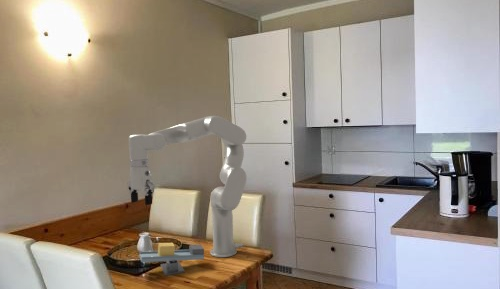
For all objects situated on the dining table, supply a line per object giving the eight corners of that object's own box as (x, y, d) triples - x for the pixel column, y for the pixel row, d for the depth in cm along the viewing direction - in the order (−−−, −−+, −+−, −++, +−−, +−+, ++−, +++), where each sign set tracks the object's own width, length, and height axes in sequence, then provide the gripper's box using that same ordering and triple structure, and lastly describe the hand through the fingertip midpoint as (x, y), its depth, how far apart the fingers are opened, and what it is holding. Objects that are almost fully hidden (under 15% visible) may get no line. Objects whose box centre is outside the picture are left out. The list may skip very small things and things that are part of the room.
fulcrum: (178, 263, 172) (178, 253, 172) (184, 272, 161) (184, 262, 160) (160, 265, 169) (160, 256, 169) (165, 275, 158) (164, 265, 158)
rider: (171, 253, 167) (172, 242, 167) (173, 256, 162) (174, 246, 162) (157, 253, 165) (158, 243, 165) (159, 257, 160) (160, 246, 160)
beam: (198, 254, 174) (199, 243, 174) (204, 260, 165) (205, 249, 165) (139, 256, 164) (139, 245, 164) (141, 263, 156) (142, 252, 155)
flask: (151, 261, 175) (150, 239, 175) (136, 260, 177) (135, 238, 176) (158, 255, 182) (157, 234, 182) (144, 254, 184) (143, 234, 183)
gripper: (159, 163, 162) (161, 203, 163) (134, 161, 173) (136, 199, 174) (144, 165, 156) (147, 207, 157) (119, 163, 167) (122, 202, 168)
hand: (141, 203), depth 166 cm, fingers open, 9 cm apart
